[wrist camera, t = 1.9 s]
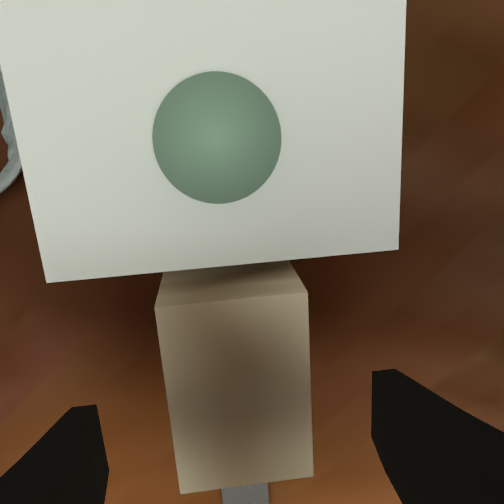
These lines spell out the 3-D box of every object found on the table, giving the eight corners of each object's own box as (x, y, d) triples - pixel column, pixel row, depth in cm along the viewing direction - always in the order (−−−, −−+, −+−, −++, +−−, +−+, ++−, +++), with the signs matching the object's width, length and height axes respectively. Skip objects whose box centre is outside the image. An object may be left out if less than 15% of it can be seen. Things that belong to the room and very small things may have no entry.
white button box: (346, 19, 16) (417, -29, 11) (346, 213, 18) (407, 255, 13) (54, 34, 15) (-27, -9, 10) (89, 236, 17) (39, 290, 12)
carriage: (273, 234, 18) (307, 292, 12) (280, 368, 20) (313, 476, 14) (170, 243, 17) (154, 307, 12) (187, 379, 19) (180, 494, 13)
